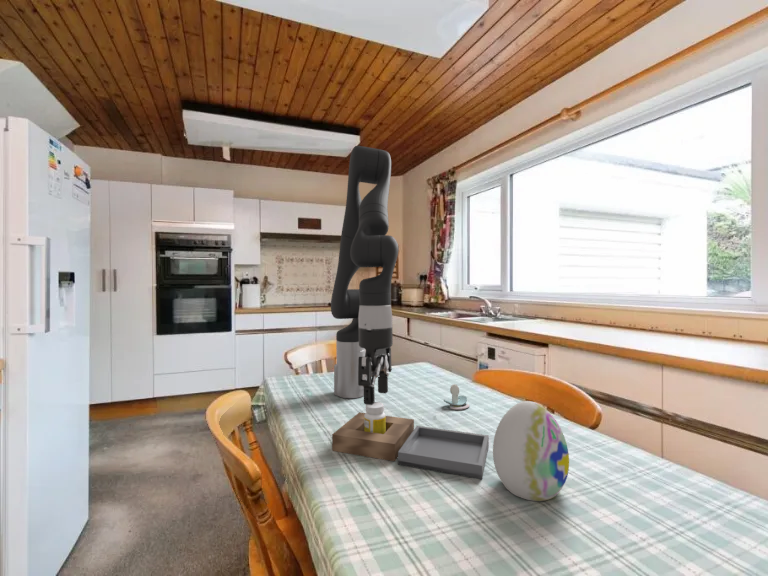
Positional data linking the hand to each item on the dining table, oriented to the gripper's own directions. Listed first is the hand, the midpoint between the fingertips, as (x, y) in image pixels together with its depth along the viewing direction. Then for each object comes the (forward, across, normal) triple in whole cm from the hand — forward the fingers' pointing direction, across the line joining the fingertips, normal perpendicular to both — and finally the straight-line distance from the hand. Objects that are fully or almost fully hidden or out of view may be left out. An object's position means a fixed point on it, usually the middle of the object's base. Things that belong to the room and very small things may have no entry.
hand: (376, 398), depth 83 cm
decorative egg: (+11, +8, +32) cm, 34 cm away
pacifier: (+10, -30, +13) cm, 34 cm away
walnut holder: (+10, 0, 0) cm, 10 cm away
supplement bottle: (+10, 0, 0) cm, 10 cm away
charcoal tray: (+10, +1, +16) cm, 19 cm away
